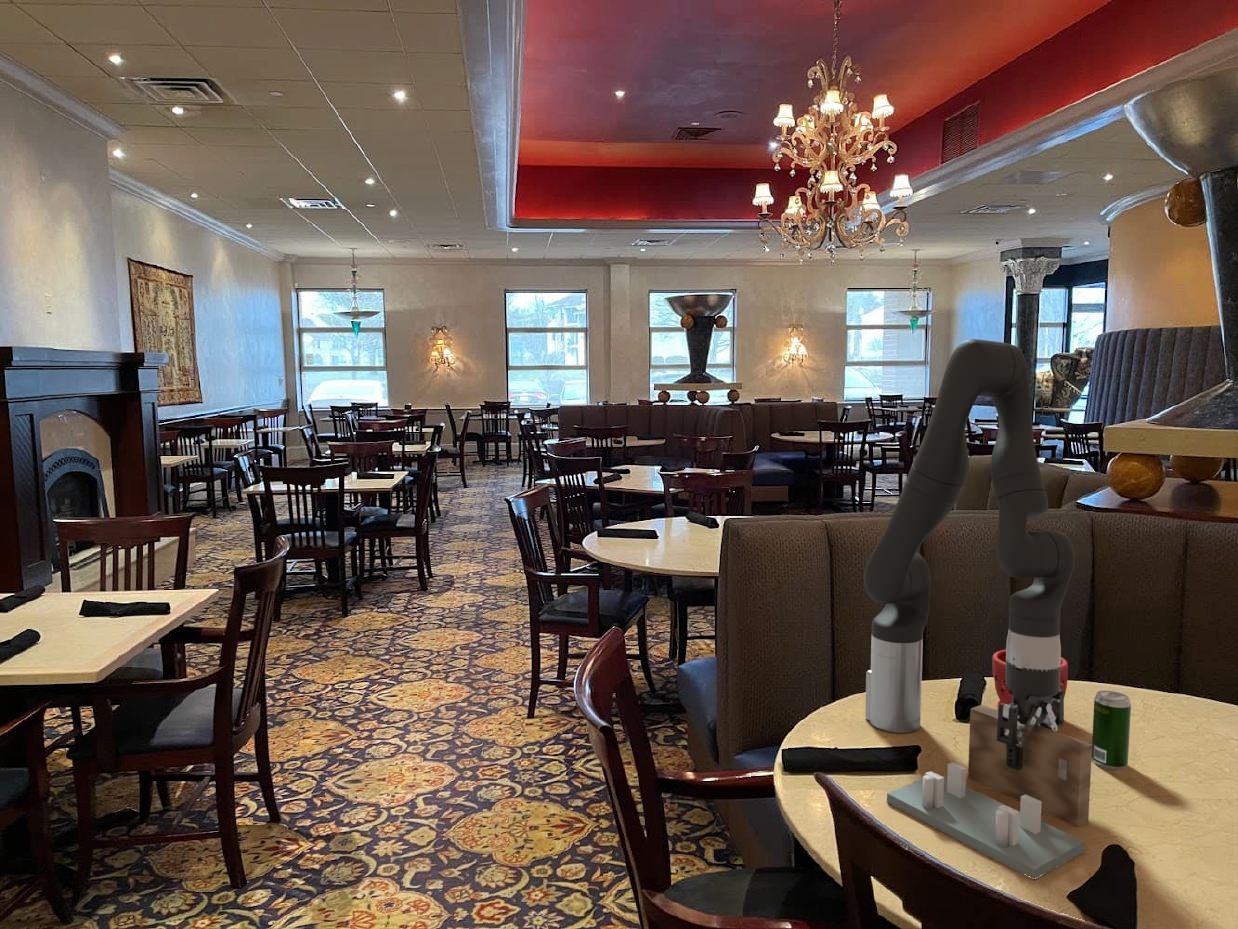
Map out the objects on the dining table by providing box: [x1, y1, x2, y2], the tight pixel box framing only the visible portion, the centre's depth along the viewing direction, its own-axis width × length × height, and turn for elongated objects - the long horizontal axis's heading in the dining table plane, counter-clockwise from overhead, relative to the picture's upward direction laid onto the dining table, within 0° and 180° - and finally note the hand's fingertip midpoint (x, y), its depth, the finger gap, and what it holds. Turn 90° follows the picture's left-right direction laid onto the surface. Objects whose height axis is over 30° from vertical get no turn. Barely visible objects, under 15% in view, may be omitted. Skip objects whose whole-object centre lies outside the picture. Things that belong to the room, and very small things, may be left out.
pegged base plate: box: [886, 761, 1086, 879], centre depth 121 cm, size 24×12×6 cm, turn 32°
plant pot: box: [991, 649, 1069, 725], centre depth 160 cm, size 13×13×12 cm
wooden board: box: [967, 704, 1092, 828], centre depth 129 cm, size 18×3×12 cm, turn 32°
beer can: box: [1091, 690, 1132, 771], centre depth 140 cm, size 5×5×12 cm
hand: (1030, 761), depth 129 cm, fingers open, 8 cm apart
